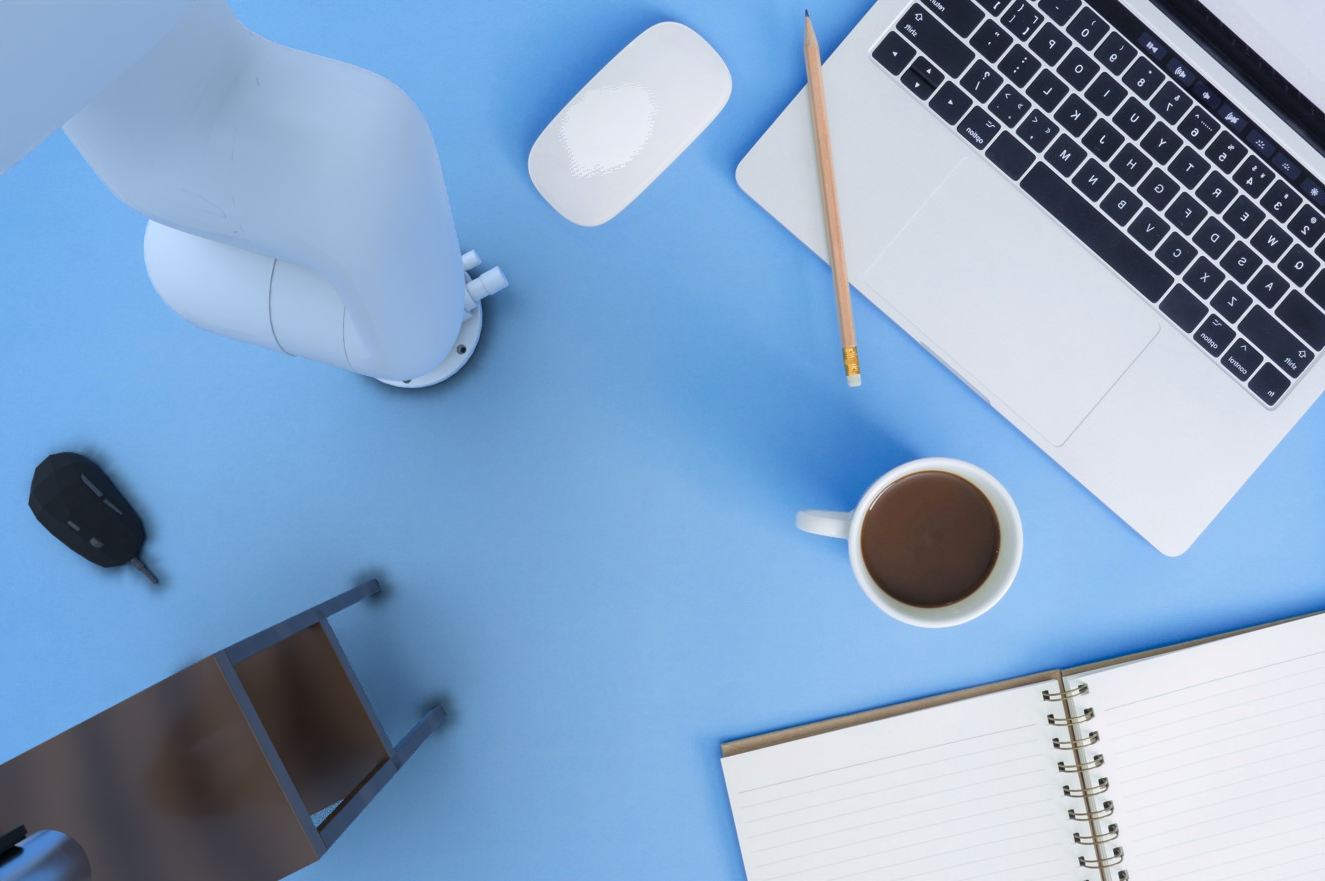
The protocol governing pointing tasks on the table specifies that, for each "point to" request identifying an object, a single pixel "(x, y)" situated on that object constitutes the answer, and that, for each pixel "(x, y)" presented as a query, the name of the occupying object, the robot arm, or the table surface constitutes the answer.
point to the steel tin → (45, 859)
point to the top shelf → (168, 786)
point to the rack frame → (322, 713)
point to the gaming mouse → (85, 511)
